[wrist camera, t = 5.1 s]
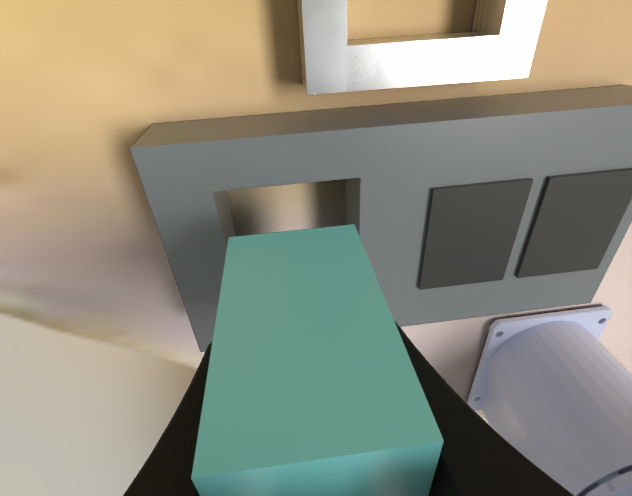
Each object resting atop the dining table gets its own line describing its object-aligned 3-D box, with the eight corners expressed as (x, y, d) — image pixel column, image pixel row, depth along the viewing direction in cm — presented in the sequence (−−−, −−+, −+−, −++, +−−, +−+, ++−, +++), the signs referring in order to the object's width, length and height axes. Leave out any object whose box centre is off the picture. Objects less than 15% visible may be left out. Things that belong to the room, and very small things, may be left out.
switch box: (552, 268, 21) (593, 305, 19) (208, 308, 20) (199, 355, 17) (625, 84, 16) (698, 100, 13) (153, 123, 14) (127, 150, 12)
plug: (353, 332, 14) (437, 642, 7) (252, 344, 14) (240, 679, 7) (354, 224, 12) (491, 558, 5) (228, 237, 11) (169, 615, 4)
